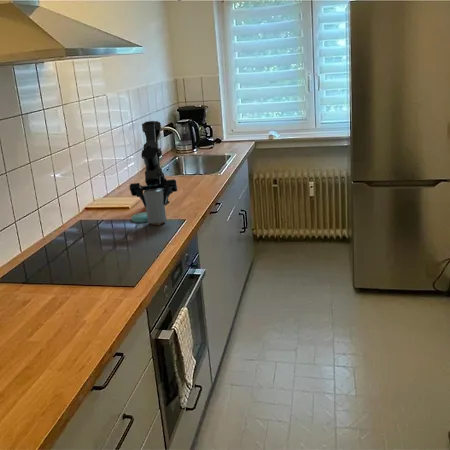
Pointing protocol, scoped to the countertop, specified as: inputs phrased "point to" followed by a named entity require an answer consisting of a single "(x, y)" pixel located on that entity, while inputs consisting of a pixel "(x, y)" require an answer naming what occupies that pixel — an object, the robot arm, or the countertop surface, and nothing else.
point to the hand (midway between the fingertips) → (154, 205)
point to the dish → (140, 217)
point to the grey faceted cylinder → (155, 205)
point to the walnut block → (157, 223)
